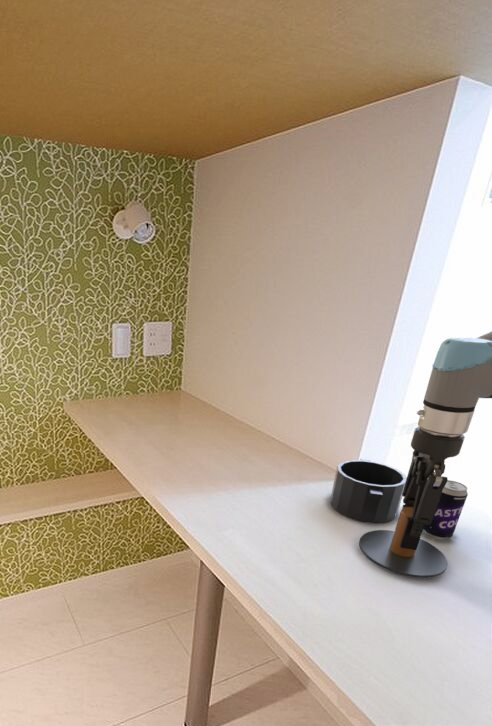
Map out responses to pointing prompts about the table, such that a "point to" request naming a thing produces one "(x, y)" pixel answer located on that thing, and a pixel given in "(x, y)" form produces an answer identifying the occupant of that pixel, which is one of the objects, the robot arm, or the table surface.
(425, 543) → the tin lid
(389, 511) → the tin
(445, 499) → the beverage can
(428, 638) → the table surface
